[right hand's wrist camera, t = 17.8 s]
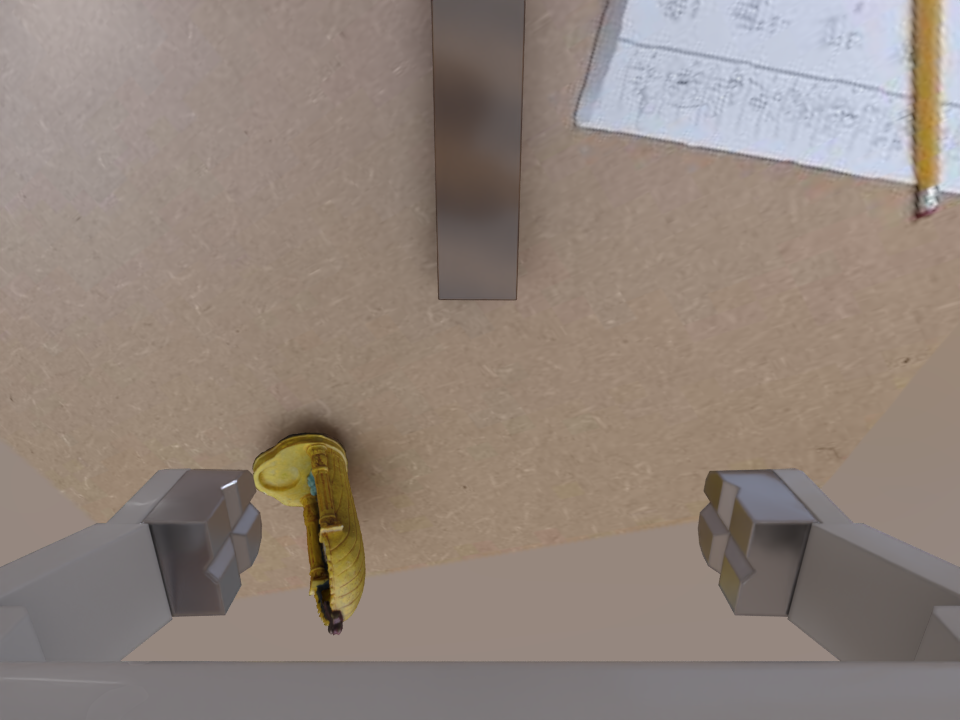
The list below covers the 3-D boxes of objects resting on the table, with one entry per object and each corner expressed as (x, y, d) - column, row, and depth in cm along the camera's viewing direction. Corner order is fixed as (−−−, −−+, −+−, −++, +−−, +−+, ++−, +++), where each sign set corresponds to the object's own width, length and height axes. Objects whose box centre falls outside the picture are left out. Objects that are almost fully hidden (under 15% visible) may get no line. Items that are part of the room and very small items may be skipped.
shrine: (409, 468, 50) (382, 596, 36) (362, 530, 52) (319, 673, 38) (293, 400, 47) (215, 509, 33) (250, 469, 50) (160, 597, 36)
